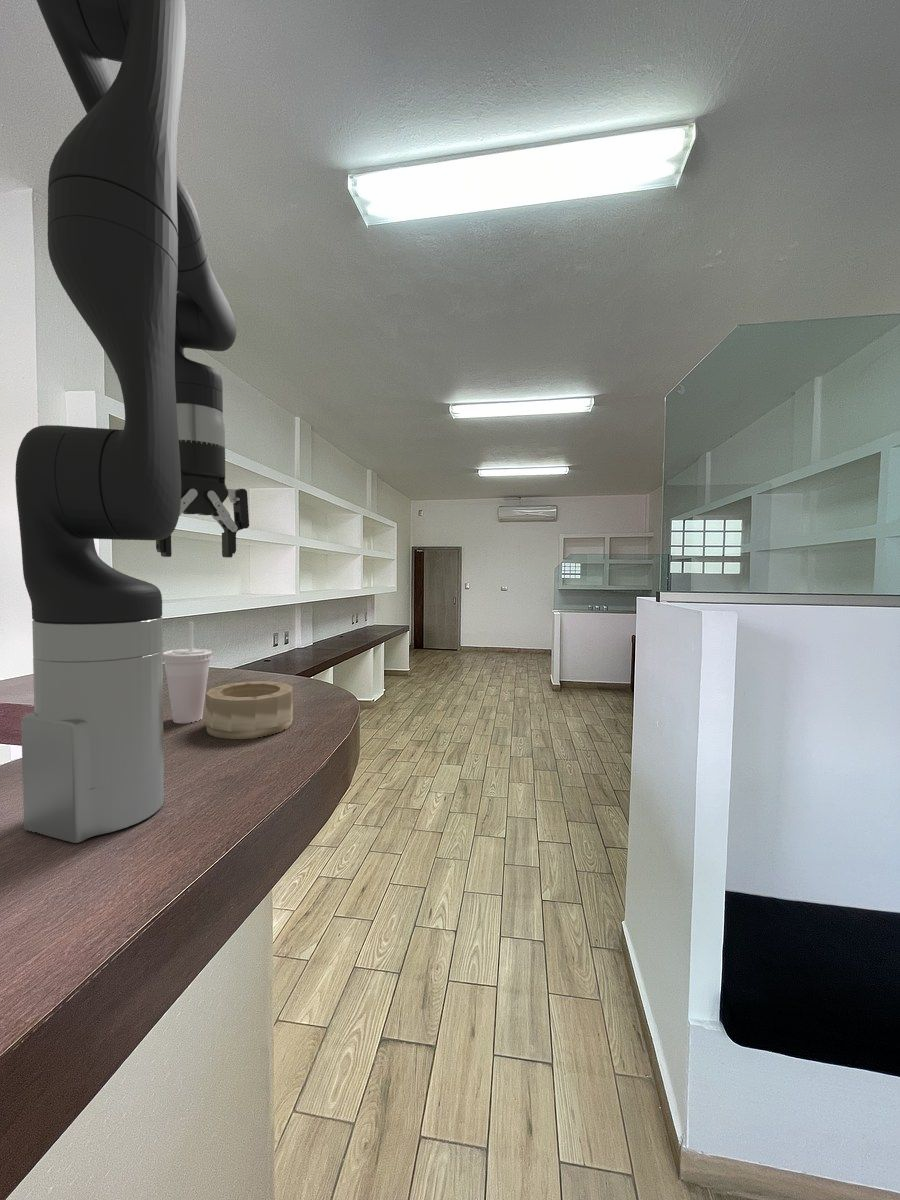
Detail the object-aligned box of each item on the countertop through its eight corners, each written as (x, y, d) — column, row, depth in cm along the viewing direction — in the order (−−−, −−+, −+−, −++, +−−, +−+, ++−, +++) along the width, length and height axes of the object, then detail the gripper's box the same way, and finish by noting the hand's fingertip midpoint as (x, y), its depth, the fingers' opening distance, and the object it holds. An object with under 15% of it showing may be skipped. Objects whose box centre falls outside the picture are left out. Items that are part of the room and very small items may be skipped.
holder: (257, 743, 63) (257, 704, 63) (187, 732, 67) (187, 695, 66) (308, 719, 74) (308, 685, 73) (245, 711, 77) (245, 678, 77)
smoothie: (198, 727, 69) (198, 624, 68) (151, 725, 69) (150, 623, 68) (220, 713, 76) (220, 619, 75) (177, 712, 76) (177, 618, 75)
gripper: (149, 430, 65) (152, 558, 67) (256, 448, 75) (257, 558, 77) (131, 437, 70) (134, 555, 72) (234, 453, 80) (235, 556, 82)
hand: (198, 557), depth 74 cm, fingers open, 8 cm apart
